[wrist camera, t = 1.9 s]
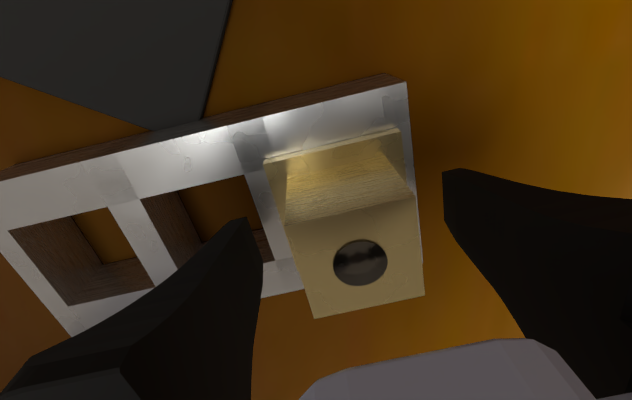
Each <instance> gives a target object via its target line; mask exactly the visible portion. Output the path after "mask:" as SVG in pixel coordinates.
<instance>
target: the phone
mask: <svg viewBox="0 0 632 400" xmlns="http://www.w3.org/2000/svg"><path fill="white" fill-rule="evenodd" d="M232 1H233V0H0V77H2V78H5V79H8V80H11V81H14V82H16V83H19V84H22V85H25V86H28V87H31V88H33V89H36V90H39V91H42V92H45V93H47V94H50V95H53V96H56V97H59V98H62V99H64V100H67V101H70V102H73V103H76V104H78V105H81V106H84V107H87V108H90V109H93V110H95V111H98V112H101V113H104V114H107V115H109V116H112V117H115V118H118V119H121V120H124V121H126V122H129V123H132V124H135V125H138V126H140V127H143V128H146V129H149V130H152V131H159V130H163V129H167V128H172V127H176V126H180V125H184V124H188V123H192V122H196V121H199V120H200V119H202V117H203V114H204V110H205V106H206V103H207V99H208V95H209V91H210V87H211V83H212V80H213V76H214V72H215V68H216V64H217V60H218V56H219V52H220V49H221V45H222V41H223V37H224V33H225V29H226V25H227V21H228V17H229V13H230V9H231V5H232Z"/></svg>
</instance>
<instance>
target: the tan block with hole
mask: <svg viewBox="0 0 632 400" xmlns="http://www.w3.org/2000/svg"><path fill="white" fill-rule="evenodd" d="M263 167H264V170H265V173H266V176H267V179H268V182H269V185H270V188H271V191H272V194H273V197H274V200H275V204H276V207H277V210H278V213H279V216H280V219H281V222H282V225H283V228H284V231H285V234H286V237H287V240H288V243H289V247H290V250H291V253H292V256H293V259H294V262H295V265H296V268H297V271H299V273H300V276H301V279H302V282H303V286H304V289H305V292H306V295H307V298H308V301H309V304H310V307H311V310H312V313H313V317H314V319H316V318H321V317H326V316H330V315H335V314H340V313H344V312H349V311H354V310H359V309H363V308H368V307H373V306H377V305H382V304H387V303H391V302H396V301H401V300H406V299H410V298H415V297H420V296H424V295H425V290H424V279H423V269H422V258H421V248H420V237H419V227H418V216H417V206H416V196H415V195H414V194H413V192H412V191H411V190H410V188H409V187H408V186H407V181H406V172H405V162H404V153H403V144H402V134H401V131H400V130H399V129H398V128H395V129H390V130H386V131H382V132H378V133H374V134H369V135H365V136H361V137H357V138H353V139H349V140H344V141H340V142H336V143H332V144H328V145H323V146H319V147H315V148H311V149H307V150H303V151H298V152H294V153H290V154H286V155H282V156H278V157H273V158H269V159H265V160H264V162H263Z"/></svg>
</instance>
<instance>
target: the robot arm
mask: <svg viewBox="0 0 632 400" xmlns="http://www.w3.org/2000/svg"><path fill="white" fill-rule="evenodd" d="M442 183H443V203H444V221H445V223H446V224H447V226H448V228H449V230H450V232H451V233H452V235H453V237H454V238H455V240H456V242H457V243H458V244H459V246H460V247H461V248H462V249H463V251H464V252H465V253H466V254H467V256H468V257H469V258H470V259H471V261H472V262H473V263H474V264H475V266H476V267H477V268H478V269H479V271H480V272H481V273H482V274H483V276H484V277H485V278H486V279H487V280H488V282H489V283H490V284H491V285H492V287H493V288H494V289H495V291H496V292H497V293H498V295H499V296H500V297H501V299H502V300H503V302H504V304H505V305H506V307H507V308H508V310H509V311H510V313H511V315H512V316H513V318H514V319H515V321H516V322H517V324H518V326H519V327H520V329H521V331H522V332H523V334H524V336H525V337H526V338H513V339H491V340H486V341H481V342H476V343H471V344H466V345H461V346H456V347H451V348H446V349H441V350H436V351H431V352H426V353H421V354H416V355H411V356H406V357H401V358H396V359H391V360H386V361H381V362H376V363H371V364H366V365H361V366H356V367H351V368H346V369H344V370H341V371H339V372H336V373H333V374H331V375H328V376H326V377H323V378H321V379H318V380H317V381H316V382H315V383H314V384H313V385H312V386H311V387H310V388H309V389H308V390H307V391H306V392H305V393H304V394H303V395H302V396H301V397H300V399H299V400H632V199H622V198H610V197H599V196H590V195H582V194H575V193H568V192H561V191H555V190H550V189H545V188H540V187H536V186H531V185H526V184H522V183H518V182H514V181H510V180H506V179H502V178H499V177H495V176H491V175H488V174H484V173H480V172H476V171H472V170H468V169H462V168H458V169H453V170H449V171H444V172H442ZM262 287H263V259H262V256H261V254H260V251H259V248H258V246H257V243H256V240H255V238H254V235H253V233H252V230H251V227H250V225H249V222H248V219H247V217H244V218H239V219H235V220H231V221H229V222H228V223H227V224H226V225H225V226H223V227H222V228H221V229H220V230H219V231H218V232H217V233H216V234H215V235H214V236H213V237H212V238H211V239H210V240H209V241H208V242H207V243H206V244H205V245H204V246H203V247H202V248H201V249H200V250H199V251H198V252H197V253H196V254H195V255H194V256H192V257H191V258H190V259H189V260H188V261H187V262H186V263H185V264H184V265H183V266H181V267H180V268H179V269H178V270H177V271H176V272H174V273H173V274H172V275H171V276H170V277H168V278H167V279H166V280H164V281H163V282H162V283H160V284H159V285H158V286H156V287H155V288H154V289H152V290H151V291H150V292H148V293H147V294H145V295H143V296H142V297H140V298H139V299H137V300H136V301H134V302H133V303H131V304H130V305H128V306H127V307H125V308H124V309H122V310H120V311H119V312H117V313H115V314H114V315H112V316H110V317H109V318H107V319H105V320H103V321H102V322H100V323H98V324H96V325H94V326H92V327H91V328H89V329H87V330H85V331H83V332H81V333H79V334H77V335H75V336H73V337H71V338H69V339H67V340H65V341H63V342H61V343H59V344H57V345H55V346H53V347H51V348H49V349H46V350H44V351H42V352H40V353H38V354H36V355H33V356H32V357H30V358H29V359H28V361H27V362H26V363H25V364H24V365H23V367H22V368H21V369H20V370H19V371H18V373H17V374H16V375H15V376H14V377H13V379H12V380H11V381H10V382H9V383H8V385H7V386H6V387H5V388H4V389H3V391H2V392H1V393H0V400H251V375H252V356H253V344H254V336H255V330H256V324H257V318H258V312H259V306H260V300H261V293H262Z"/></svg>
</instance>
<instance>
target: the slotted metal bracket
mask: <svg viewBox="0 0 632 400" xmlns="http://www.w3.org/2000/svg"><path fill="white" fill-rule="evenodd" d="M395 128H398V129H399V130H400V131H401V134H402V144H403V153H404V162H405V172H406V181H407V186H408V187H409V188H410V190H411V191H412V192H413V194H414V195H415V196H416V206H417V216H418V227H419V237H420V248H421V258H422V263H423V257H422V246H421V235H420V224H419V214H418V203H417V192H416V182H415V171H414V160H413V150H412V139H411V128H410V117H409V107H408V96H407V85H406V81H403V80H401V79H398V78H396V77H393V76H391V75H388V74H386V73H382V74H378V75H374V76H370V77H366V78H362V79H358V80H354V81H350V82H346V83H342V84H338V85H334V86H330V87H326V88H322V89H318V90H314V91H310V92H306V93H302V94H298V95H294V96H290V97H286V98H282V99H278V100H274V101H269V102H265V103H261V104H257V105H253V106H249V107H245V108H241V109H237V110H233V111H229V112H225V113H221V114H217V115H213V116H209V117H205V118H202V119H200V120H199V121H196V122H192V123H188V124H184V125H180V126H176V127H172V128H167V129H163V130H159V131H149V132H144V133H140V134H136V135H132V136H128V137H124V138H120V139H116V140H112V141H108V142H104V143H100V144H96V145H92V146H88V147H84V148H80V149H76V150H72V151H68V152H64V153H60V154H56V155H52V156H48V157H44V158H40V159H36V160H32V161H28V162H24V163H20V164H15V165H13V166H11V167H8V168H6V169H4V170H2V171H0V252H1V254H2V255H3V256H4V257H5V258H6V260H7V261H8V262H9V263H10V264H11V265H12V267H13V268H14V269H15V270H16V271H17V273H18V274H19V275H20V276H21V277H22V279H23V280H24V281H25V282H26V283H27V285H28V286H29V287H30V288H31V289H32V290H33V292H34V293H35V294H36V295H37V296H38V298H39V299H40V300H41V301H42V302H43V304H44V305H45V306H46V307H47V308H48V310H49V311H50V312H51V313H52V314H53V315H54V317H55V318H56V319H57V320H58V321H59V323H60V324H61V325H62V326H63V327H64V329H65V330H66V331H67V332H68V333H69V335H70V336H71V337H73V336H75V335H77V334H79V333H81V332H83V331H85V330H87V329H89V328H91V327H92V326H94V325H96V324H98V323H100V322H102V321H103V320H105V319H107V318H109V317H110V316H112V315H114V314H115V313H117V312H119V311H120V310H122V309H124V308H125V307H127V306H128V305H130V304H131V303H133V302H134V301H136V300H137V299H139V298H140V297H142V296H143V295H145V294H147V293H148V292H150V291H151V290H152V289H154V288H155V287H156V286H158V285H159V284H160V283H162V282H163V281H164V280H166V279H167V278H168V277H170V276H171V275H172V274H173V273H174V272H176V271H177V270H178V269H179V268H180V267H181V266H183V265H184V264H185V263H186V262H187V261H188V260H189V259H190V258H191V257H192V256H194V255H195V254H196V253H197V252H198V251H199V250H200V249H201V248H202V247H203V246H204V245H205V244H206V243H207V242H208V241H206V242H202V243H201V241H200V239H199V237H198V235H197V233H196V230H195V228H194V226H193V224H192V222H191V220H190V218H189V216H188V214H187V212H186V209H185V207H184V205H183V203H182V201H181V199H180V197H179V195H178V193H177V191H176V190H180V189H184V188H189V187H193V186H197V185H201V184H206V183H210V182H214V181H218V180H222V179H227V178H231V177H235V176H239V175H243V174H244V175H245V178H246V181H247V184H248V186H249V189H250V192H251V195H252V198H253V200H254V203H255V206H256V209H257V211H258V214H259V217H260V220H261V223H262V225H263V229H259V230H255V231H252V233H253V235H254V238H255V240H256V243H257V246H258V248H259V251H260V254H261V256H262V259H263V287H262V293H261V298H264V297H269V296H273V295H278V294H282V293H287V292H292V291H296V290H301V289H304V286H303V282H302V279H301V276H300V273H299V271H297V268H296V265H295V262H294V259H293V256H292V253H291V250H290V247H289V243H288V240H287V237H286V234H285V231H284V228H283V225H282V222H281V219H280V216H279V213H278V210H277V207H276V204H275V200H274V197H273V194H272V191H271V188H270V185H269V182H268V179H267V176H266V173H265V170H264V167H263V162H264V160H265V159H269V158H273V157H278V156H282V155H286V154H290V153H294V152H298V151H303V150H307V149H311V148H315V147H319V146H323V145H328V144H332V143H336V142H340V141H344V140H349V139H353V138H357V137H361V136H365V135H369V134H374V133H378V132H382V131H386V130H390V129H395ZM104 207H108V208H109V210H110V212H111V213H112V215H113V216H114V218H115V220H116V221H117V223H118V225H119V226H120V228H121V230H122V231H123V233H124V235H125V236H126V238H127V240H128V241H129V243H130V245H131V246H132V248H133V250H134V251H135V253H136V255H137V256H138V257H136V258H132V259H127V260H123V261H118V262H114V263H110V264H105V265H103V264H102V262H101V261H100V259H99V258H98V256H97V255H96V253H95V252H94V250H93V249H92V248H91V246H90V245H89V243H88V242H87V240H86V239H85V237H84V236H83V234H82V233H81V231H80V230H79V228H78V227H77V225H76V224H75V222H74V221H73V219H72V218H71V215H75V214H79V213H83V212H87V211H92V210H96V209H100V208H104Z"/></svg>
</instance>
